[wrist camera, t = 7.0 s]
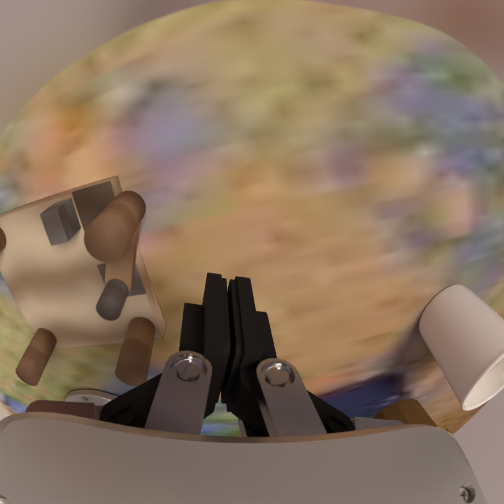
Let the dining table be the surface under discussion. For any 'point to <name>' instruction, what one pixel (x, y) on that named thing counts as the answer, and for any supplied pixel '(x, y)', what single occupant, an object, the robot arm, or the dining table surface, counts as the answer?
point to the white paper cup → (465, 344)
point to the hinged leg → (116, 249)
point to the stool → (73, 283)
